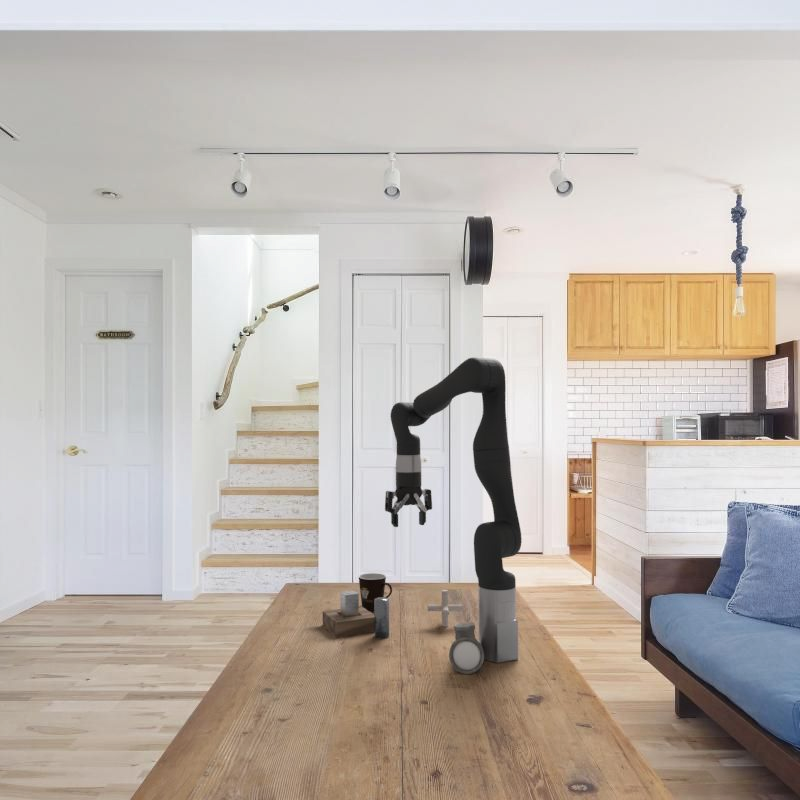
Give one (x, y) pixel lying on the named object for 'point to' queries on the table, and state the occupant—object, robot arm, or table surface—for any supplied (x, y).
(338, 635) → the socket block
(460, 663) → the pipe fitting
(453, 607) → the pipe connector
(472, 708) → the table surface
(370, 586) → the coffee mug
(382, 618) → the round bit
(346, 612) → the square bit
